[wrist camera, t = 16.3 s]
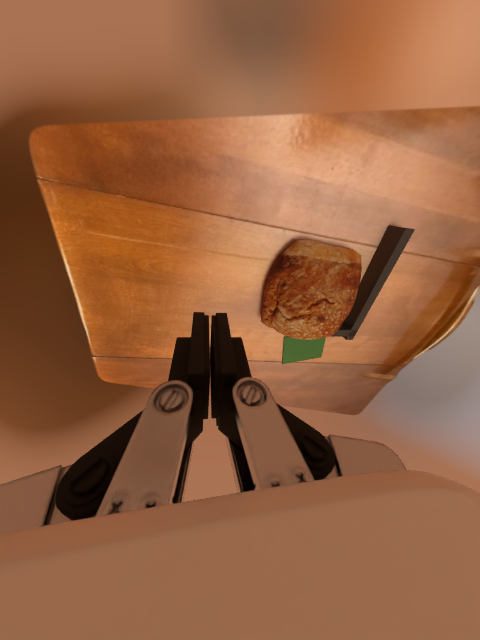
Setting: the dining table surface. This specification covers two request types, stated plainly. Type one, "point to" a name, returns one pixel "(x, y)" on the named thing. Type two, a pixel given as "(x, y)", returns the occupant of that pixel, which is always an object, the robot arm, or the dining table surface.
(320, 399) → the dining table surface
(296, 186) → the dining table surface
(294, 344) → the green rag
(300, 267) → the bread
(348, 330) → the corner stop
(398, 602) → the robot arm
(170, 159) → the dining table surface
